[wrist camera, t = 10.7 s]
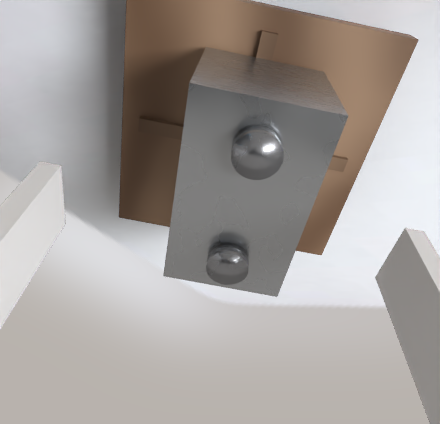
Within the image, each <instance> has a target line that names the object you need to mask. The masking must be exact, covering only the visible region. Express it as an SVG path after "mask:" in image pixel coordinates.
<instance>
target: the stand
mask: <svg viewBox="0 0 440 424" xmlns="http://www.w3.org/2000/svg"><path fill="white" fill-rule="evenodd" d="M417 42H418V39H416V38H414V37H413V36H411V35H408V34H403V33H399V32H394V31H389V30H385V29H380V28H375V27H371V26H366V25H362V24H357V23H352V22H348V21H343V20H339V19H334V18H329V17H325V16H320V15H315V14H311V13H306V12H302V11H297V10H292V9H288V8H283V7H279V6H274V5H269V4H265V3H260V2H255V1H251V0H126V28H125V58H124V87H123V116H122V145H121V175H120V204H119V217H120V218H125V219H131V220H136V221H141V222H147V223H152V224H157V225H163V226H168V227H170V223H171V216H172V208H173V201H174V193H175V186H176V178H177V171H178V164H179V156H180V149H181V141H182V134H183V126H184V119H185V111H186V104H187V97H188V89H189V83H190V80H191V78H192V76H193V74H194V72H195V70H196V67H197V65H198V63H199V61H200V59H201V57H202V55H203V52H204V50H205V48H206V47H209V48H214V49H219V50H223V51H228V52H233V53H238V54H242V55H247V56H252V57H257V58H261V59H266V60H271V61H276V62H280V63H285V64H290V65H295V66H299V67H304V68H309V69H314V70H318V71H323V72H325V74H326V76H327V78H328V80H329V81H330V83H331V85H332V87H333V89H334V90H335V92H336V94H337V96H338V98H339V99H340V101H341V103H342V105H343V107H344V108H345V110H346V112H347V114H348V119H347V121H346V124H345V126H344V129H343V131H342V134H341V136H340V139H339V141H338V144H337V146H336V149H335V151H334V154H333V157H332V159H331V162H330V164H329V167H328V169H327V172H326V174H325V177H324V179H323V182H322V184H321V187H320V189H319V192H318V195H317V197H316V200H315V202H314V205H313V207H312V210H311V212H310V215H309V217H308V220H307V222H306V225H305V227H304V230H303V233H302V235H301V238H300V240H299V243H298V245H297V248H296V251H301V252H306V253H312V254H317V255H322V253H323V251H324V248H325V246H326V244H327V242H328V240H329V237H330V235H331V233H332V231H333V229H334V226H335V224H336V222H337V220H338V217H339V215H340V213H341V211H342V209H343V206H344V204H345V202H346V200H347V197H348V195H349V193H350V191H351V189H352V186H353V184H354V182H355V180H356V177H357V175H358V173H359V171H360V169H361V166H362V164H363V162H364V160H365V157H366V155H367V153H368V151H369V149H370V146H371V144H372V142H373V140H374V138H375V135H376V133H377V131H378V129H379V126H380V124H381V122H382V120H383V118H384V115H385V113H386V111H387V109H388V106H389V104H390V102H391V100H392V98H393V95H394V93H395V91H396V89H397V86H398V84H399V82H400V80H401V78H402V75H403V73H404V71H405V69H406V67H407V64H408V62H409V60H410V58H411V55H412V53H413V51H414V49H415V47H416V44H417Z"/></svg>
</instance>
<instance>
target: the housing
mask: <svg viewBox="0 0 440 424" xmlns="http://www.w3.org/2000/svg"><path fill="white" fill-rule="evenodd" d="M347 119H348V114H347V112H346V110H345V108H344V107H343V105H342V103H341V101H340V99H339V98H338V96H337V94H336V92H335V90H334V89H333V87H332V85H331V83H330V81H329V80H328V78H327V76H326V74H325V72H323V71H318V70H314V69H309V68H304V67H299V66H295V65H290V64H285V63H280V62H276V61H271V60H266V59H261V58H257V57H252V56H247V55H242V54H238V53H233V52H228V51H223V50H219V49H214V48H209V47H206V48H205V50H204V52H203V55H202V57H201V59H200V61H199V63H198V65H197V67H196V70H195V72H194V74H193V76H192V78H191V80H190V83H189V89H188V97H187V104H186V111H185V119H184V126H183V134H182V141H181V149H180V156H179V164H178V171H177V178H176V186H175V193H174V201H173V208H172V216H171V223H170V231H169V238H168V246H167V253H166V260H165V268H164V276H166V277H172V278H177V279H183V280H188V281H194V282H199V283H204V284H210V285H215V286H221V287H226V288H232V289H237V290H243V291H248V292H254V293H259V294H265V295H270V296H276V297H277V296H278V293H279V291H280V288H281V286H282V283H283V281H284V278H285V276H286V273H287V271H288V268H289V265H290V263H291V260H292V258H293V255H294V253H295V250H296V248H297V245H298V243H299V240H300V238H301V235H302V233H303V230H304V227H305V225H306V222H307V220H308V217H309V215H310V212H311V210H312V207H313V205H314V202H315V200H316V197H317V195H318V192H319V189H320V187H321V184H322V182H323V179H324V177H325V174H326V172H327V169H328V167H329V164H330V162H331V159H332V157H333V154H334V151H335V149H336V146H337V144H338V141H339V139H340V136H341V134H342V131H343V129H344V126H345V124H346V121H347Z"/></svg>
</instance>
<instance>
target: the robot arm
mask: <svg viewBox="0 0 440 424" xmlns="http://www.w3.org/2000/svg"><path fill="white" fill-rule="evenodd" d="M65 224H66V221H65V208H64V195H63V182H62V169H61V165H57V164H51V163H46V162H39V163H38V164H37V165H36V166H35V167H34V169H33V170H32V171H31V172H30V173H29V174H28V175H27V176H26V177H25V179H24V180H23V181H22V182H21V183H20V184H19V185H18V186H17V187H16V189H15V190H14V191H13V192H12V193H11V194H10V195H9V196H8V197H7V199H6V200H5V201H4V202H3V203H2V204H1V205H0V329H1V327H2V325H3V324H4V322H5V321H6V319H7V318H8V316H9V314H10V313H11V311H12V309H13V308H14V306H15V305H16V303H17V301H18V300H19V298H20V297H21V295H22V293H23V292H24V290H25V289H26V287H27V285H28V284H29V282H30V281H31V279H32V277H33V276H34V274H35V272H36V271H37V269H38V268H39V266H40V264H41V263H42V261H43V260H44V258H45V256H46V255H47V253H48V251H49V250H50V248H51V247H52V245H53V243H54V242H55V240H56V239H57V237H58V235H59V234H60V232H61V231H62V229H63V227H64V226H65ZM375 278H376V280H377V283H378V286H379V288H380V291H381V294H382V296H383V299H384V302H385V304H386V307H387V310H388V312H389V315H390V318H391V320H392V323H393V326H394V329H395V331H396V334H397V337H398V339H399V342H400V345H401V347H402V350H403V353H404V355H405V358H406V361H407V363H408V366H409V369H410V371H411V374H412V377H413V379H414V382H415V385H416V387H417V390H418V393H419V396H420V398H421V401H422V403H423V406H424V409H425V412H426V414H427V417H428V420H429V422H430V424H440V257H439V256H438V254H437V252H436V250H435V249H434V247H433V245H432V244H431V242H430V240H429V239H428V237H427V235H426V234H425V232H424V231H419V230H414V229H408V228H405V229H404V231H403V232H402V234H401V236H400V237H399V239H398V241H397V242H396V244H395V246H394V247H393V249H392V251H391V252H390V254H389V256H388V257H387V259H386V261H385V262H384V264H383V265H382V267H381V269H380V270H379V272H378V274H377V275H376V277H375Z"/></svg>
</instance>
